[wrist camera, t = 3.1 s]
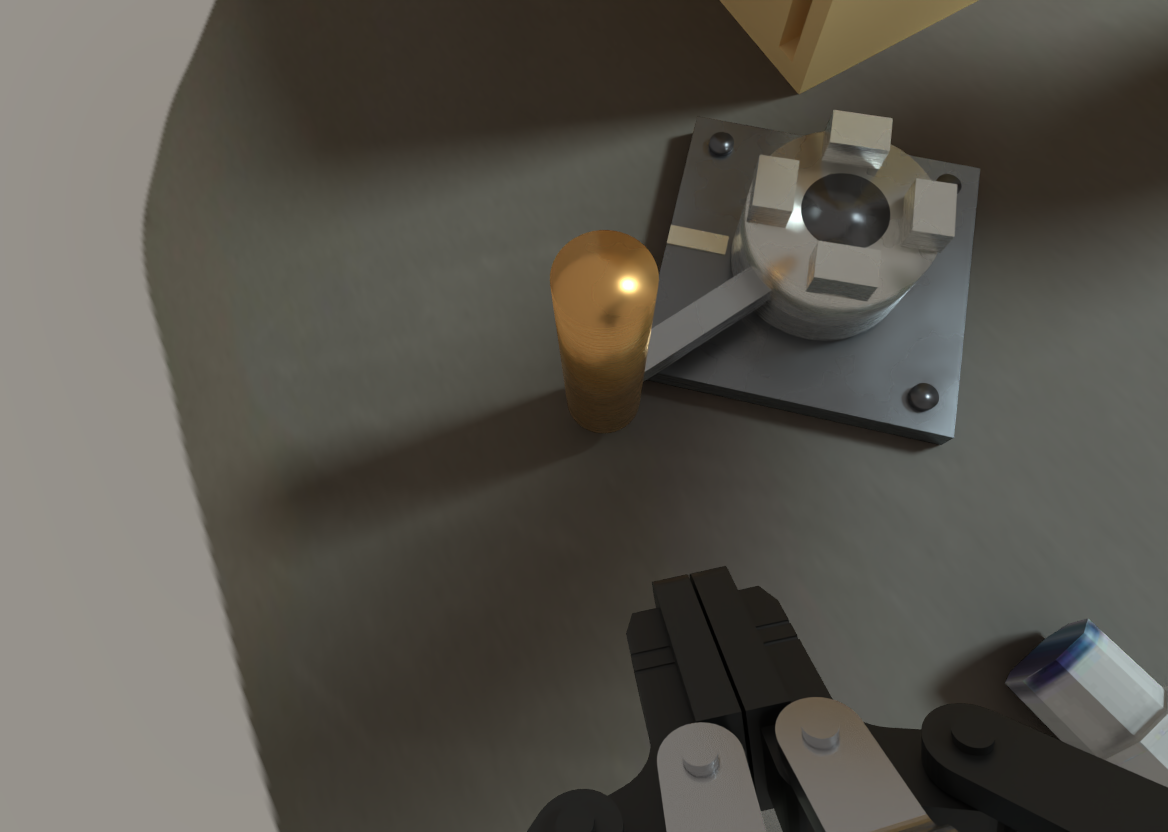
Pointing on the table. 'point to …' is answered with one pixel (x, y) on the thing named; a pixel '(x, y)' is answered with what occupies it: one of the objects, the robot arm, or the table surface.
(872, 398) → the hub plate
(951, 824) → the robot arm
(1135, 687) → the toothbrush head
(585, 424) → the crank handle
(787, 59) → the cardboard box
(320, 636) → the table surface
